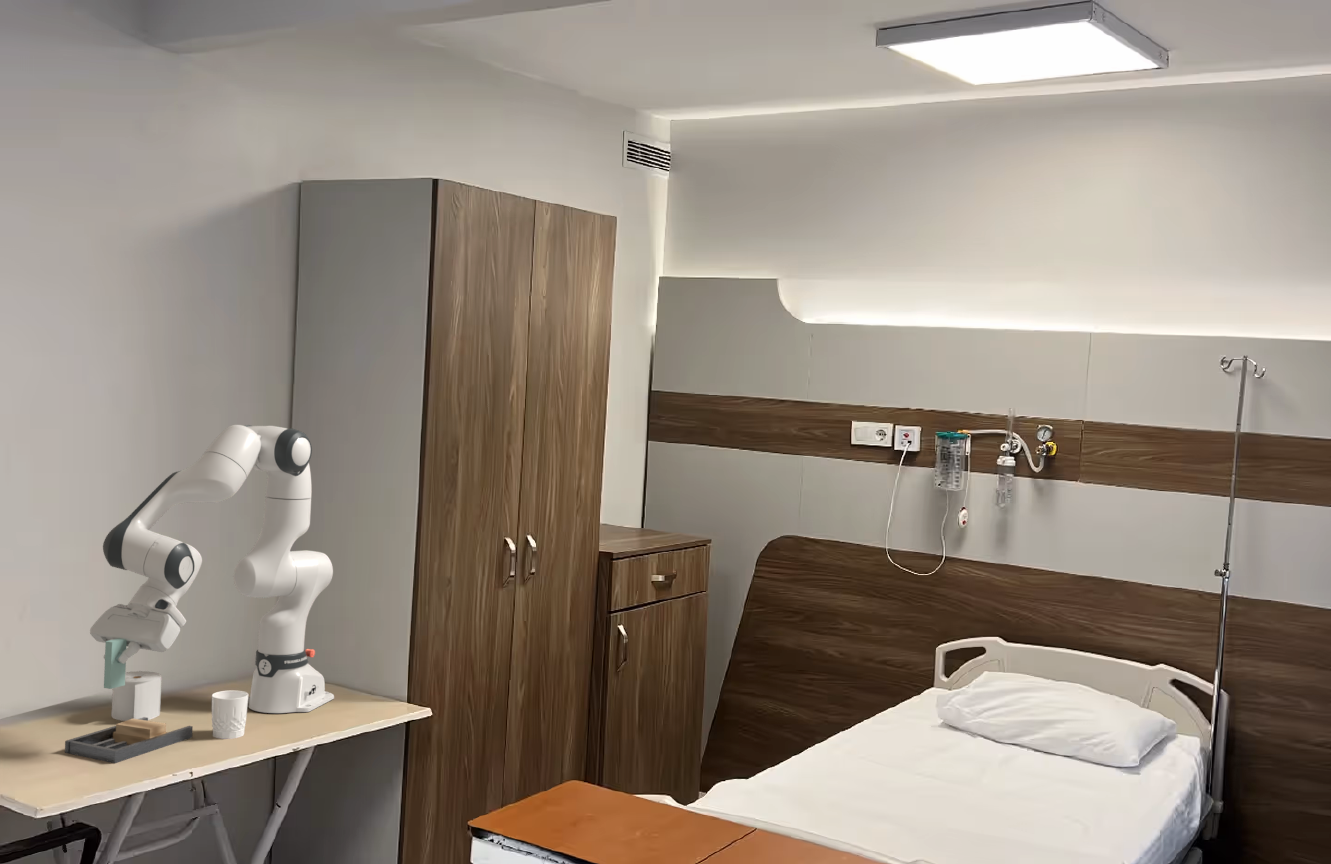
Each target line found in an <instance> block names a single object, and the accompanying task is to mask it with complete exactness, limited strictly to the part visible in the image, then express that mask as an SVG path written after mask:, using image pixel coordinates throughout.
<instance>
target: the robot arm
mask: <svg viewBox="0 0 1331 864" xmlns="http://www.w3.org/2000/svg"><path fill="white" fill-rule="evenodd" d="M312 453H313V448H312V443H311V441H310V438H309V437H308V435H307V433H305V432H302V431H301V430H299V429H295V428H287V427H281V426H276V425H250V424H247V425H246V424H245V425H243V424H233V425H230V426H227V427H226V428H225V429H224V430H223V431H222V432H221V433H220V434H219V435H218V436H217V437H215V439H214V440H213V441H212V442H211V443H210V444H209V446H208V447H207V448H206V449H205V451H204V453H202V455H201V456H200V458H199V459H198V460H196V461H195V462H194V463H192V464H191V465H190V466H188V467H186V468H185V469H183V470H178V471H175V472H172V473H171V474H170V475H169V476H167V478H165V479H164V480H163V481H162V482H161V483H160V484H159V485H158V486H157V487H155V489H153V491H152V492H150V494H149V495H148V496H147V497H146V498H144V500H143V501H142V502H141V503H140V504H139V505H138V506H137V507H136V508H135V509H134V510H133V511H132V512H131V513H130V515H129V516H127V517H126V518H125V519H124V520H122V521H121V522H119V523H118V524H117V525H116V526H114V527H113V528H111V529H110V531H109V532H108V534H107V535H106V536H105V539H104V541H103V543H102V544H103V545H102V550H103V555H104V557H105V560H106V561H107V563H108V564H109V566H110V567H112V568H115V569H119V570H120V569H121V570H124V571H130V572H132V573H135V574H138V575H141V576H143V577H145V578H146V577H147V578H148V579H146V581H145V582H144V583H143V584H142V585H141V586H140V587H139V588H138V589H137V590H136V592H135V593H134V595H133V596H132V597H131V599H130V601H129V602H128V603H127V604H122V603H118V604H116V605H114V606H111V607H109V608H108V609H107V610H105V611H104V612H103V613H102V614H101V615H100V617H99V618H98V619H96V621H95V622H94V623H93V624H92V626H91V627H90V630H89V633H90V636H91V637H92V638H93V639H94V640H96V642H98V643H105V644H106V641H109V640H114V639H119V638H120V639H126V640H127V645H126V650H124V651H123V652H122V653H121V652H119V653H118V655H117V656H116V658H115V660H116V661H117V662H118V663H122V664H124V663H125V662H126V663H127V661H128V659H129V658H131V657H133V656H134V655H135V654H137V653H138V652H139V651H140V649H142V650H146V651H152V652H158V653H164V652H166V651H168V650H169V649H170V648H171V647H172V645H173V644H174V642H175V641H176V640H177V638H178V637H179V634H180V632H181V628H183V627H184V626H185V624H186V623H187V619H186V617H184V615H183V613H182V612H181V611H180V610H179V609H178V607H177V606H178V603H179V601H180V599H181V598H182V597H183V596H184V595H186V594H187V592H188V590H189V589H190V587H192V584H193V582H194V581H195V579H196V578H197V576H198V574H199V572H200V569H201V567H202V564H203V557H202V555H201V553H200V552H199V550H198V549H196V548H195V547H194V546H192V545H191V544H188V543H186V542H183V541H182V540H178V539H176V538H173V537H170V536H168V535H163V534H161V533H158V532H155V531H153V530H151V529H152V527H153V526H154V525H155V524H156V523H158V521H159V520H160V519H161V518H162V517H163V515H165V514H166V513H167V512H168V511H169V510H170V509H171V508H173V507H175V506H178V505H183V504H194V503H195V504H196V503H200V504H201V503H202V504H203V503H205V504H215V503H220V502H224V501H227V500H229V499H230V498H233V496H235V494H237V492H238V491H239V490H240V488H241V487H242V486H243V484H244V483H245V481H246V480H247V478H248V477H249V475H250V474H251V471H252V470H254V471H258V472H266V474H267V478H266V485H265V495H264V507H263V508H264V509H263V510H264V511H263V519H262V525H261V529H260V533H259V535H258V536H257V540H256V542H255V543H254V545H253V547H252V548H251V549H250V551H249V552H248V553H247V554H245V556H243V557H242V558H241V559H240V560H239V561H237V564H236V565H235V567H234V571H233V576H232V577H233V582H234V584H233V585H234V586H235V588H236V590H237V591H238V593H239V594H240V595H242V596H243V597H249V598H256V599H257V598H258V599H265V598H267V599H268V598H275V597H278V598H277V599H278V600H277V601H276V603H275V604H274V606H272V608H271V609H270V610H269V611H266V612H265V613H264V614H263V615H262V617H260V620H259V623H258V640H257V641H258V642H257V649H256V652H255V655H254V659H255V662H254V663H255V664H254V665H255V666H256V668H255V669H254V670H253V674H252V680H251V686H250V687H251V688H250V695H249V696H248V705H247V708H249V709H250V710H252V711H255V712H259V713H265V714H267V713H268V714H286V713H287V714H288V713H308V712H311V711H313V710H315V709H317V708H319V707H321V706H323V705H324V704H326V703H328V702H330V701H332V700H334V699H335V695H334V694H333V693H331V692H330V691H325V690H326V686H325V685H326V684H325V678H324V676H323V674H322V673H320V672H319V671H318V670H316V669H315V668H314V667H313V666H311V664H310V663H309V659H308V658H314V657H315V655H316V650H315V649H313V648H312V649H311V648H310V649H309V648H307V649H305V637H306V626H307V620H308V616H309V614H310V611H311V609H312V606H313V605H314V602H315V600H316V599H317V598H318V596H319V595H320V594H321V592H323V591H324V590H325V589H326V588H327V587H328V586H329V585H330V583H331V582H332V579H333V575H334V567H333V564H332V561H331V559H330V558H329V556H328V555H327V554H326V553H324V552H321V551H315V550H307V549H305V550H303V549H302V550H292V551H291V549H292V547H293V545H294V543H295V542H296V541H297V540H298V539H299V538H301V537H302V536H303V535H305V533H307V532H308V530H309V528H310V526H311V512H312V510H311V509H312V494H313V493H312V490H313V489H312V487H313V486H312V472H311V466H310V461H311V457H312ZM103 659H104V660H105V654H104V655H103Z"/></svg>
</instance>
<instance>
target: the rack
mask: <svg viewBox="0 0 1331 864" xmlns="http://www.w3.org/2000/svg"><path fill="white" fill-rule="evenodd" d="M139 720H146V721H149V720H148V718H147V717H143V718H140V719H139ZM115 731H116V725H114V726H113V725H112V726H110V727H107V728H104V729H100V730H97V731H94V732H91V733H87V734H84V735H80V736H77V737H73V738H70V739H67V740H65V742H64V753H65V754H68V755H69V754H70V755H74V756H78V757H84V758H88V759H92V760H97V761H102V762H107V763H112V764H117V763H121V762H124V761H127V760H130V759H132V758H136V757H138V756H141V755H145V754H147V753H150V752H154V751H156V750H159V749H163V748H165V747H168V746H171V745H174V744H177V743H180V742H183V741H186V740H188V739H192V738H193V726H192V725H187V726H184V727H181V728H177V729H175V730H172V731H169V732H168V731H167V732H168V733H165V734H162V735H159V736H156V737H153V738H149V739H146V740H143V741H140V742H137V743H134V744H131V745H129V744H127V742H125V741H122V742H115V739H113V732H115Z"/></svg>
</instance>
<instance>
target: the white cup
mask: <svg viewBox="0 0 1331 864" xmlns="http://www.w3.org/2000/svg"><path fill="white" fill-rule="evenodd" d="M248 697H249V693H248V692H247V691H244V690H237V689H235V690H233V689H231V690H221V691H217V692H214V693H212V694H211V723H212V724H211V727H212V737H213V738H216V739H220V740H221V739H222V740H224V739H225V740H230V739H238V738H241V737H243V736H244V735H245V731H246V730H245V727H246V723H247V715H248V706H249V703H248Z"/></svg>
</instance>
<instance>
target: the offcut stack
mask: <svg viewBox="0 0 1331 864" xmlns="http://www.w3.org/2000/svg"><path fill="white" fill-rule="evenodd" d="M115 726H116V731H115V732H113V739H115V742H122V741H125V742H127V744H129V745H131V744H134V743H137V742H140V741H143V740H146V739H149V738H153V737H156V736H159V735H162V734H165V733H168V731H166V730H167V723H165V722H158V721H153V720H148V721H146V720H139V719H130V720H127V721H121V722H119V723H116V724H115Z"/></svg>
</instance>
